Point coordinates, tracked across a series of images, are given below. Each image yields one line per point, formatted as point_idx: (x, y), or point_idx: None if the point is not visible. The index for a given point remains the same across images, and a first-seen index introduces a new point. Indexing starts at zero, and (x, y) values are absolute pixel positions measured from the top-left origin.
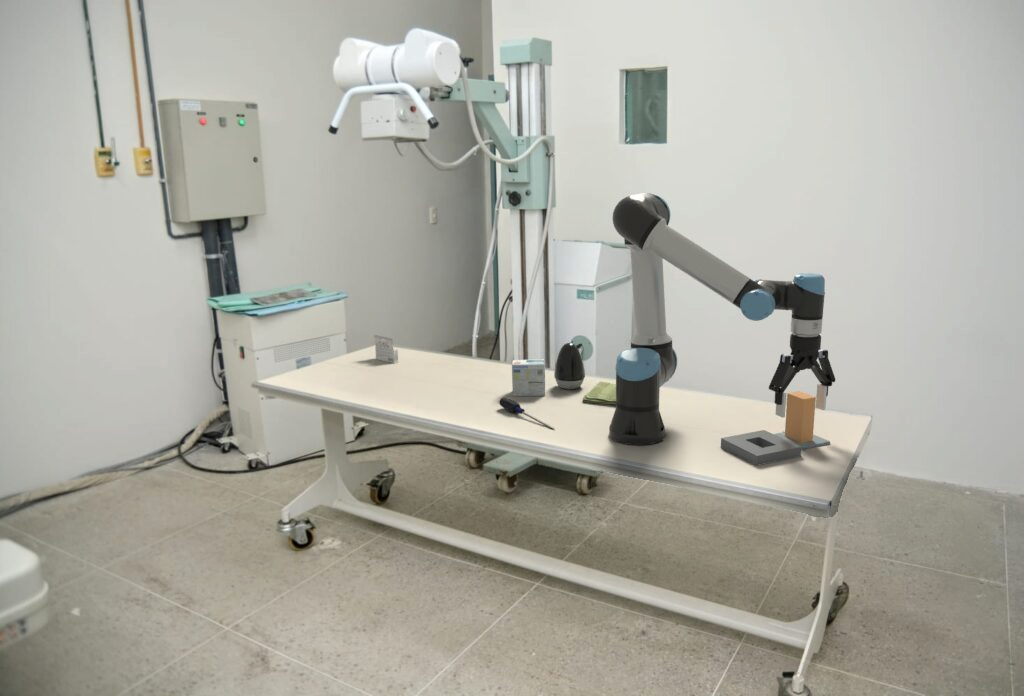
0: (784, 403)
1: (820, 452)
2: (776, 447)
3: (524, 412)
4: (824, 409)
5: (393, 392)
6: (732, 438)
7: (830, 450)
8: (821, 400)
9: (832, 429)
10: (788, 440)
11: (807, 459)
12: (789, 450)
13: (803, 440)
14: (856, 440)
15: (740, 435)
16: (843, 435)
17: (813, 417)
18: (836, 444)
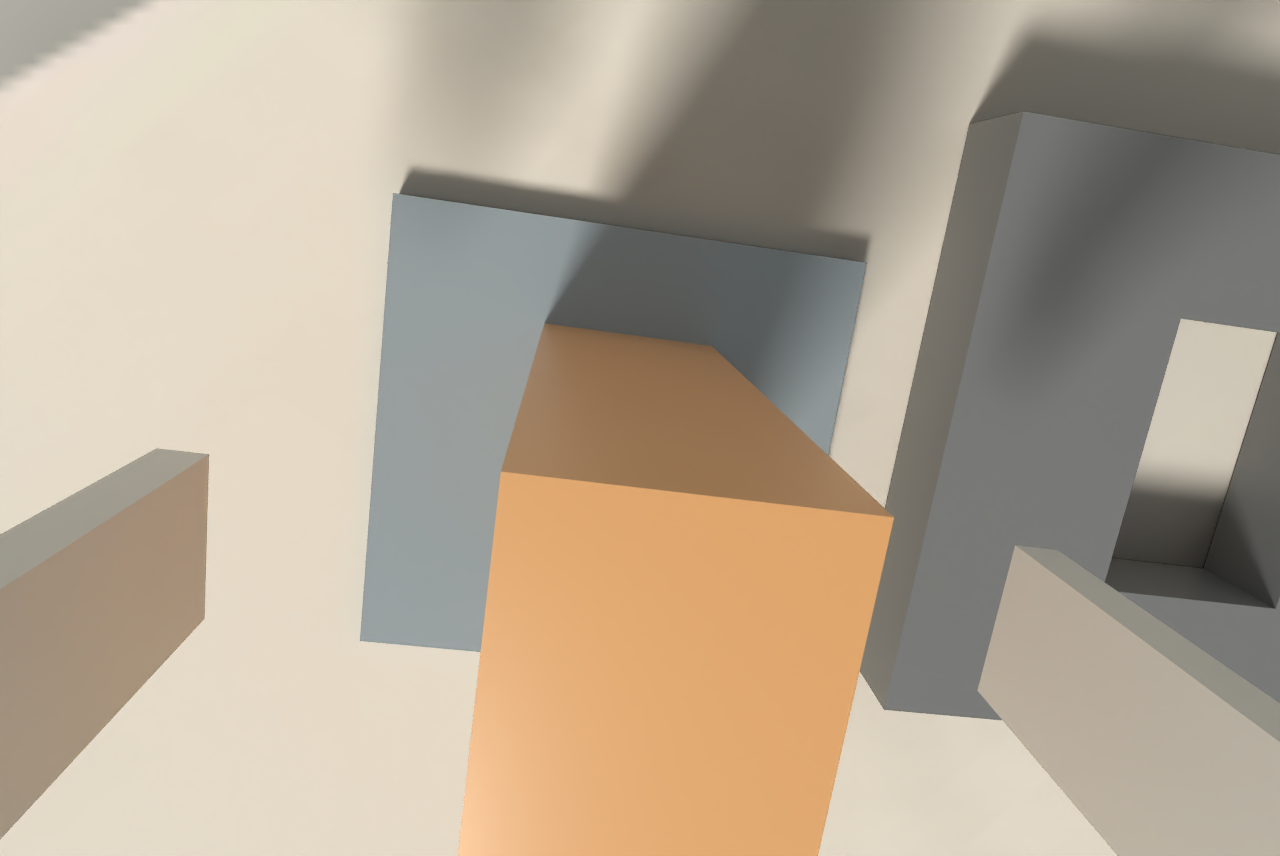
0: (1204, 662)
1: (712, 73)
2: (1248, 265)
3: None
4: (171, 454)
5: None
6: None
7: (569, 46)
8: (122, 572)
9: (3, 482)
10: None
11: (996, 16)
12: (1184, 140)
13: (677, 345)
14: (30, 81)
15: None
16: (41, 283)
17: (549, 372)
18: (354, 134)
